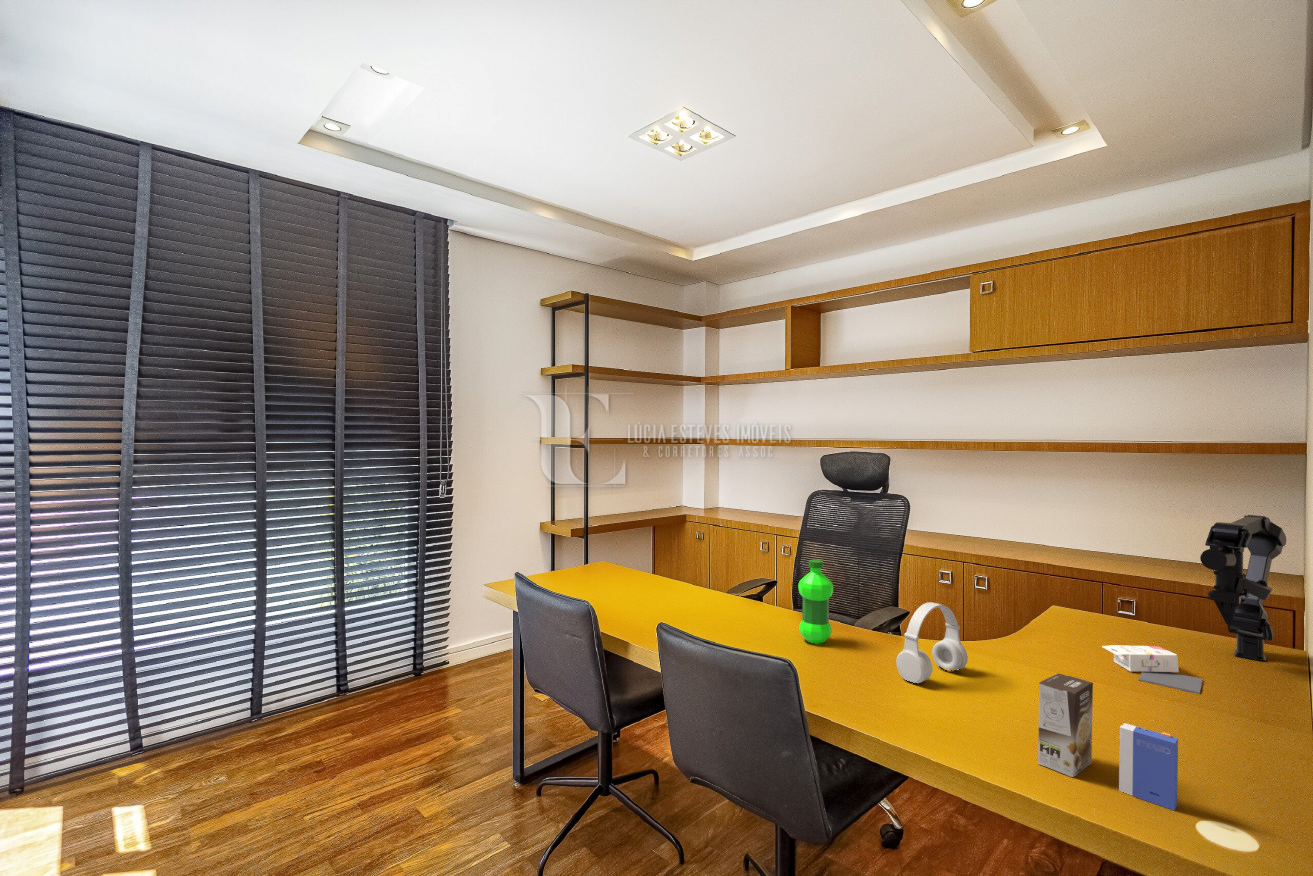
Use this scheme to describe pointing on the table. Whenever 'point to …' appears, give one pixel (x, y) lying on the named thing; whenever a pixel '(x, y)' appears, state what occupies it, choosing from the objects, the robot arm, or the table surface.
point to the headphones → (944, 652)
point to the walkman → (1148, 765)
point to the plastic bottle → (815, 604)
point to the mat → (1173, 680)
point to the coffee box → (1065, 724)
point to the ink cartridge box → (1144, 658)
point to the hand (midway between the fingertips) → (1228, 624)
